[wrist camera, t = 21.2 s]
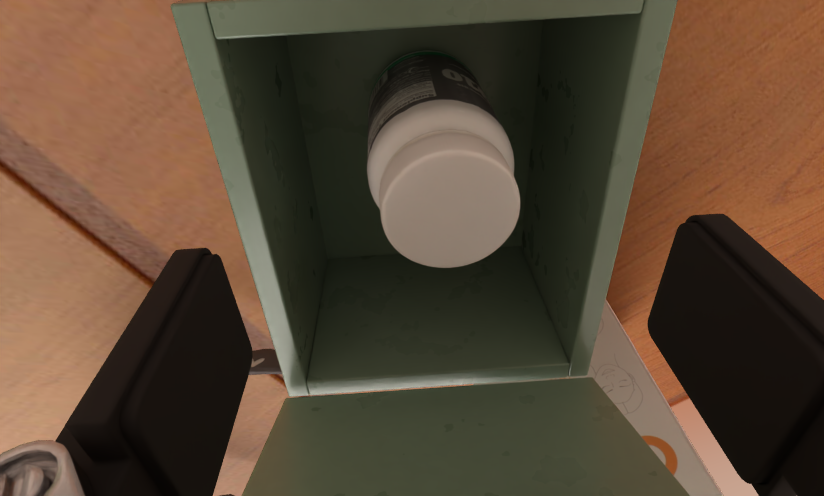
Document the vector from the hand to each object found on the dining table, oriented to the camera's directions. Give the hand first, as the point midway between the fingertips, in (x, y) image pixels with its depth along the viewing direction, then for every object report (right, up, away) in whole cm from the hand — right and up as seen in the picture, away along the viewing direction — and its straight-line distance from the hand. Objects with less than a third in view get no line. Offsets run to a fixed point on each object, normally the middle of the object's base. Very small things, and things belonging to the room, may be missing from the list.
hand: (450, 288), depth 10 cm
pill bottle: (0, +7, +10) cm, 12 cm away
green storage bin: (-1, +6, +12) cm, 13 cm away
